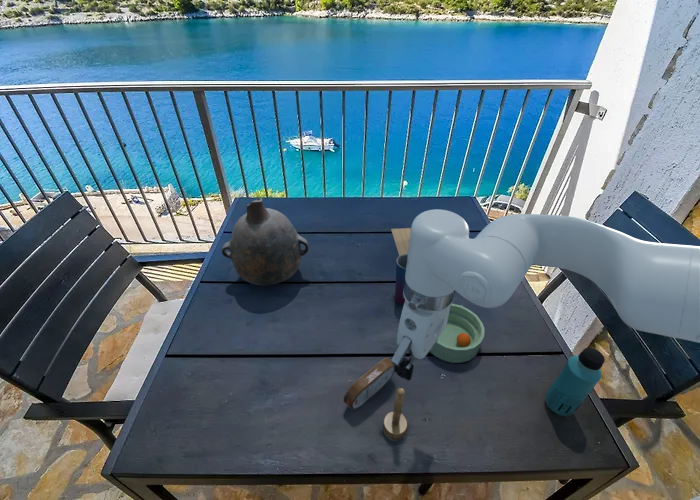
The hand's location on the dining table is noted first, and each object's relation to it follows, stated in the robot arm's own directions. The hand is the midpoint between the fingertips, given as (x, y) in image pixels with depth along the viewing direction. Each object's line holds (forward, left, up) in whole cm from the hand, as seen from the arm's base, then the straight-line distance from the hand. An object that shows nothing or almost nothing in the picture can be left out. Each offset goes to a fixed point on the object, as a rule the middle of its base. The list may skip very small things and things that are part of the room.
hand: (416, 355), depth 63 cm
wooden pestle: (+1, +3, -25) cm, 25 cm away
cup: (+19, -33, -25) cm, 46 cm away
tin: (+10, -1, -25) cm, 27 cm away
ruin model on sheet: (+27, -59, -25) cm, 70 cm away
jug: (+60, -16, -25) cm, 67 cm away
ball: (-3, -27, -22) cm, 35 cm away
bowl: (+1, -27, -25) cm, 37 cm away
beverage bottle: (-27, -24, -25) cm, 44 cm away
